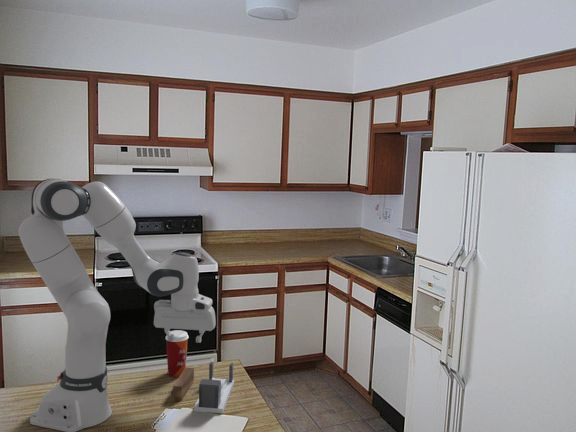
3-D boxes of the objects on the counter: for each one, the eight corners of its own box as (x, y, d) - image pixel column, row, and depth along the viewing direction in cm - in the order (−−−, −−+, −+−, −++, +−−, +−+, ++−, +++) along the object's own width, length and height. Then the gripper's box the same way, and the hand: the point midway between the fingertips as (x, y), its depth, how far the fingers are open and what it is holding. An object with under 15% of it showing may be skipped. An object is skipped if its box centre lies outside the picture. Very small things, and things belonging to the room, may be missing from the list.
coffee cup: (185, 378, 175) (186, 338, 173) (162, 378, 175) (162, 337, 173) (190, 368, 183) (190, 329, 181) (168, 368, 183) (168, 329, 181)
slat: (172, 400, 160) (172, 385, 159) (185, 381, 174) (185, 367, 173) (181, 401, 160) (181, 386, 159) (193, 381, 173) (193, 368, 173)
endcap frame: (193, 411, 153) (194, 383, 152) (208, 382, 173) (209, 357, 172) (222, 413, 153) (223, 385, 151) (234, 383, 172) (234, 359, 171)
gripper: (150, 302, 160) (150, 342, 162) (212, 305, 159) (212, 346, 160) (157, 296, 166) (157, 335, 168) (217, 299, 165) (216, 339, 167)
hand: (184, 341), depth 164 cm, fingers open, 8 cm apart
